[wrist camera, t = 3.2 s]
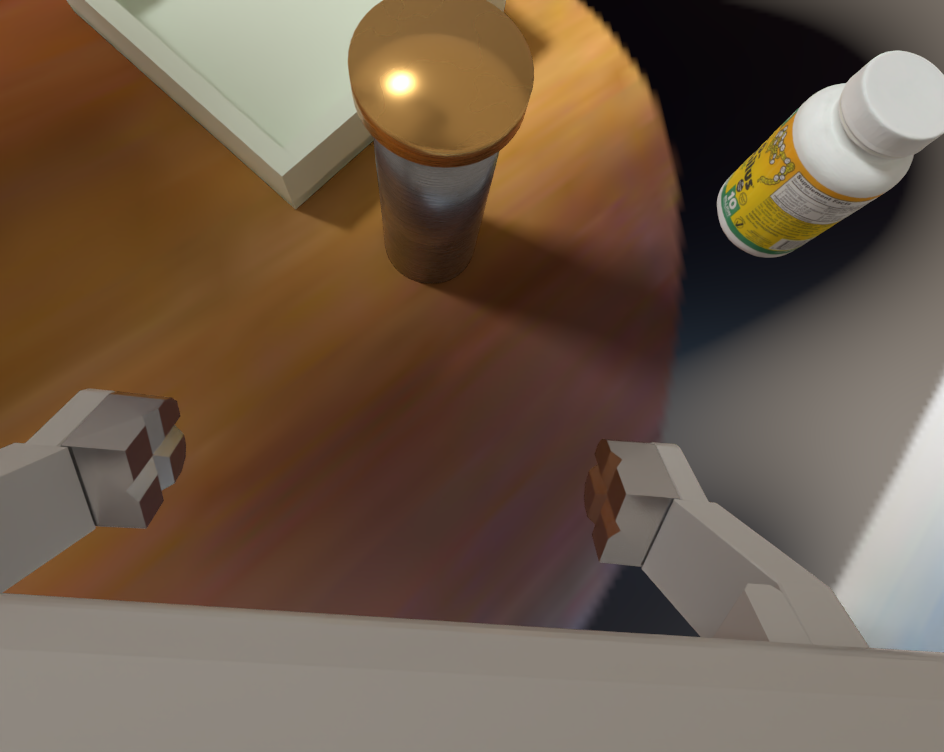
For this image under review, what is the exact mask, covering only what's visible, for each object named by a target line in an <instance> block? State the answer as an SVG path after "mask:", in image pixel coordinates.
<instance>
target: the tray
mask: <svg viewBox="0 0 944 752" xmlns="http://www.w3.org/2000/svg"><path fill="white" fill-rule="evenodd" d="M381 1H382V0H67V2H68V3H69V5H70V6H71V7H72V9H73V10H74V11H75V12H76V13H77V14H78V15H79V16H80V17H81V18H82V19H83V20H85V21H86V22H87V23H88V24H89V25H90V26H91V27H92V28H94V29H95V30H96V31H97V32H98V33H99V34H100V35H101V36H102V37H104V38H105V39H106V40H107V41H108V42H109V43H110V44H111V45H112V46H114V47H115V48H116V49H117V50H118V51H119V52H120V53H121V54H123V55H124V56H125V57H126V58H127V59H128V60H129V61H130V62H131V63H133V64H134V65H135V66H136V67H137V68H138V69H139V70H140V71H142V72H143V73H144V74H145V75H146V76H147V77H148V78H149V79H150V80H152V81H153V82H154V83H155V84H156V85H157V86H158V87H159V88H160V89H162V90H163V91H164V92H165V93H166V94H167V95H168V96H169V97H171V98H172V99H173V100H174V101H175V102H176V103H177V104H178V105H179V106H181V107H182V108H183V109H184V110H185V111H186V112H187V113H188V114H189V115H191V116H192V117H193V118H194V119H195V120H196V121H197V122H198V123H200V124H201V125H202V126H203V127H204V128H205V129H206V130H207V131H208V132H210V133H211V134H212V135H213V136H214V137H215V138H216V139H217V140H219V141H220V142H221V143H222V144H223V145H224V146H225V147H226V148H227V149H229V150H230V151H231V152H232V153H233V154H234V155H235V156H236V157H237V158H239V159H240V160H241V161H242V162H243V163H244V164H245V165H246V166H248V167H249V168H250V169H251V170H252V171H253V172H254V173H255V174H256V175H258V176H259V177H260V178H261V179H262V180H263V181H264V182H265V183H267V184H268V185H269V186H270V187H271V188H272V189H273V190H274V191H275V192H277V193H278V194H279V195H280V196H281V197H282V198H283V199H284V200H285V201H287V202H288V203H289V204H290V205H291V206H292V207H293V208H294V209H297V208H298V207H299V206H300V205H301V204H303V203H304V202H305V201H306V200H307V199H308V198H309V197H310V196H312V195H313V194H314V193H315V192H316V191H317V190H318V189H319V188H321V187H322V186H323V185H324V184H325V183H326V182H327V181H328V180H330V179H331V178H332V177H333V176H334V175H335V174H336V173H337V172H339V171H340V170H341V169H342V168H343V167H344V166H345V165H346V164H348V163H349V162H350V161H351V160H352V159H353V158H354V157H355V156H357V155H358V154H359V153H360V152H361V151H362V150H363V149H364V148H366V147H367V146H368V145H369V144H370V143H371V142H372V141H374V140H373V136H372V135H371V134H370V133H369V131H368V130H367V129H366V128H365V126H364V125H363V123H362V121H361V119H360V118H359V116H358V113H357V111H356V108H355V105H354V101H353V97H352V91H351V84H350V78H349V70H348V50H349V46H350V41H351V39H352V36H353V34H354V31H355V29H356V28H357V26H358V24H359V22H360V21H361V20H362V19H363V17H364V16H365V15H366V14H367V13H368V12H369V11H370V10H371V9H372V8H373V7H374V6H375V5H377V4H378V3H380V2H381ZM486 1H488V2H490V3H492V4H493V5H495V6H496V7H497V8H499V9H500V10H501V11H503V12H504V8H505V3H506V0H486Z"/></svg>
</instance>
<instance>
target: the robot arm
mask: <svg viewBox="0 0 944 752" xmlns="http://www.w3.org/2000/svg"><path fill="white" fill-rule="evenodd" d="M179 417H180V412H179V408H178V404H177V401H176V400H174V399H173V398H171V397H164V396H155V395H146V394H138V393H129V392H120V391H116V392H115V391H109V390H100V389H90V388H88V389H84V390H80V391H79V392H78V393H77V394H76V395H75V396H74V397H73V398H72V399H71V400H70V401H69V402H68V403H67V404H65V405H64V406H63V407H62V408H61V409H60V410H59V411H58V412H57V413H56V414H55V415H54V416H53V417H52V418H51V419H50V420H49V421H48V422H47V423H46V424H45V425H44V426H43V427H42V428H41V429H39V430H38V431H37V432H36V433H35V434H34V435H33V436H32V437H31V438H30V439H29V440H28V441H27V442H26V443H13V444H11V445H8V446H6V447H3V448H1V449H0V752H944V653H943V652H927V651H911V650H895V649H879V648H869V646H868V645H867V643H866V641H865V640H864V638H863V637H862V635H861V634H860V632H859V631H858V629H857V628H856V626H855V625H854V623H853V622H852V620H851V618H850V617H849V615H848V614H847V612H846V611H845V609H844V608H843V606H842V605H841V603H840V602H839V600H838V599H837V597H836V596H835V594H834V592H833V591H832V589H831V588H830V587H829V586H827V585H826V584H824V583H823V582H822V581H821V580H819V579H818V578H816V577H815V576H814V575H812V574H811V573H810V572H808V571H807V570H806V569H804V568H803V567H802V566H800V565H799V564H798V563H796V562H795V561H794V560H792V559H791V558H790V557H788V556H787V555H786V554H784V553H783V552H782V551H780V550H779V549H777V548H776V547H775V546H773V545H772V544H771V543H769V542H768V541H767V540H765V539H764V538H763V537H761V536H760V535H758V534H757V533H756V532H755V531H753V530H752V529H751V528H749V527H748V526H747V525H745V524H744V523H742V522H741V521H740V520H739V519H737V518H736V517H734V516H733V515H732V514H730V513H729V512H728V511H726V510H725V509H724V508H722V507H721V506H720V505H718V504H717V503H711V502H708V500H707V498H706V496H705V494H704V492H703V490H702V488H701V486H700V484H699V483H698V481H697V479H696V477H695V475H694V473H693V471H692V469H691V467H690V466H689V464H688V462H687V460H686V458H685V456H684V454H683V453H682V450H681V449H680V447H679V446H677V445H676V444H669V443H654V442H651V443H645V442H634V441H622V440H611V439H601V441H600V442H599V444H598V446H597V449H596V451H595V457H596V460H597V465H596V466H595V467H593V468H592V469H591V470H589V472H588V476H587V479H586V482H585V491H584V502H585V509H586V513H587V517H588V518H589V519H590V520H591V521H592V522H593V523H594V524H595V527H594V530H593V533H592V537H593V541H594V544H595V548H596V552H597V556H598V559H599V562H601V563H611V564H621V565H631V566H642V570H643V571H644V572H645V573H646V574H647V575H648V577H649V578H650V579H651V580H652V581H653V582H654V584H655V585H656V586H657V587H658V588H659V589H660V590H661V592H662V593H663V594H664V595H665V596H666V597H667V599H668V600H669V601H670V602H671V603H672V604H673V605H674V607H675V608H676V609H677V610H678V611H679V612H680V614H682V616H683V617H684V618H685V619H686V620H687V622H688V623H689V624H690V625H691V626H692V627H693V629H695V631H696V632H697V633H698V634H699V635H700V637H689V636H672V635H657V634H640V633H625V632H609V631H593V630H577V629H561V628H546V627H530V626H514V625H499V624H483V623H467V622H452V621H436V620H420V619H404V618H388V617H372V616H357V615H341V614H325V613H309V612H293V611H277V610H261V609H245V608H229V607H213V606H197V605H182V604H166V603H150V602H134V601H118V600H102V599H86V598H70V597H55V596H39V595H23V594H7V593H2V592H4V591H5V590H7V589H8V588H10V587H11V586H13V585H14V584H16V583H17V582H18V581H20V580H21V579H23V578H24V577H26V576H27V575H29V574H30V573H32V572H33V571H35V570H36V569H37V568H39V567H40V566H42V565H43V564H45V563H46V562H48V561H49V560H51V559H52V558H53V557H55V556H56V555H58V554H59V553H61V552H62V551H64V550H65V549H67V548H68V547H69V546H71V545H72V544H74V543H75V542H77V541H78V540H80V539H81V538H83V537H84V536H86V535H87V534H88V533H90V532H91V531H93V530H94V529H95V526H104V527H124V528H145V529H146V528H147V527H148V525H149V523H150V522H151V520H152V519H153V517H154V515H155V514H156V512H157V511H158V509H159V507H160V506H161V504H162V503H163V501H164V500H163V496H162V490H163V489H165V488H167V487H169V486H170V485H172V484H174V483H175V482H176V480H177V478H178V476H179V475H180V473H181V471H182V468H183V464H184V461H185V457H186V443H185V437H184V434H183V433H182V432H181V431H180V430H179V429H178V428H177V427H176V426H175V425H174V424H175V423H176V422H177V420H178V419H179Z"/></svg>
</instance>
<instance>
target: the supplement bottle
mask: <svg viewBox="0 0 944 752" xmlns="http://www.w3.org/2000/svg"><path fill="white" fill-rule="evenodd" d="M943 133H944V75H943V74H942V73H941V72H940V70H939V69H938V68H937V67H936V66H934V65H933V64H932V63H930V62H929V61H928V60H926V59H924V58H923V57H920V56H918V55H916V54H912V53H910V52H904V51H890V52H886V53H882V54H880V55H878V56H877V57H875V58H874V59H872V60H871V61H870V62H869V63H867V64H866V65H865V66H864V67H863V68H862V69H861V70H860V71H859V72H857V73H856V74H855V75H853V76H852V77H851V78H850V79H849V81H848V82H847V83H845V84H838V85H833V86H830V87H827V88H825V89H823V90H821V91H819V92H817V93H816V94H814V95H813V96H811V97H810V98H809V99H808V100H807V101H806V102H805V103H803V104H802V105H801V107H800V108H799V109H797V110H796V111H795V112H794V113H793V114H792V115H791V116H790V117H789V118H788V119H787V120H786V121H785V122H784V123H783V124H782V125H781V126H780V127H779V128H778V129H777V130H776V131H775V132H774V133H773V134H772V135H771V136H770V137H769V138H768V140H767V141H765V142H764V143H763V144H762V145H761V147H760V148H759V149H758V150H757V151H756V152H754V153H753V154H752V155H751V156H750V157H749V158H748V159H747V160H746V161H745V162H744V163H743V164H742V165H741V166H740V167H739V168H738V170H736V171H735V172H734V173H733V174H732V175H731V176H730V177H729V178H728V180H727V181H726V182H725V183H724V185H723V186H722V188H721V190H720V192H719V195H718V199H717V211H718V218H719V222H720V225H721V227H722V230H723V231H724V233H725V234H726V236H727V237H728V239H729V240H730V241H731V242H732V243H733V244H734V245H736V246H737V247H738V248H740V249H741V250H743V251H745V252H747V253H749V254H751V255H754V256H758V257H765V258H772V257H779V256H782V255H786V254H788V253H790V252H792V251H794V250H795V249H797V248H799V247H801V246H802V245H804V244H805V243H807V242H808V241H810V240H812V239H813V238H815V237H816V236H818V235H819V234H821V233H822V232H824V231H825V230H827V229H829V228H830V227H831V226H833V225H835V224H836V223H838V222H839V221H841V220H842V219H844V218H846V217H847V216H849V215H851V214H852V213H854V212H855V211H857V210H858V209H860V208H861V207H863V206H865V205H866V204H868V203H869V202H871V201H873V200H874V199H876V198H877V197H879V196H880V195H882V194H883V193H885V192H886V191H888V190H889V189H891V188H892V187H893V186H895V185H896V184H897V183H898V182H899V181H900V180H901V179H902V177H903V176H904V175H905V174H906V172H907V171H908V169H909V167H910V165H911V162H912V159H913V155H914V154H915V153H917V152H919V151H920V150H922V149H923V148H924V147H925V146H927V145H928V144H929V143H931V142H932V141H934V140H935V139H937V138H938V137H939V136H941V135H942V134H943Z"/></svg>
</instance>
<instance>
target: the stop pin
mask: <svg viewBox="0 0 944 752" xmlns="http://www.w3.org/2000/svg"><path fill="white" fill-rule="evenodd" d="M348 70H349V78H350V84H351V91H352V97H353V101H354V105H355V108H356V111H357V113H358V116H359V118H360V119H361V121H362V123H363V125H364V126H365V128H366V129H367V130H368V131H369V133H370V134H371V135H372V136H373V140H374V149H375V158H376V167H377V176H378V185H379V194H380V203H381V212H382V221H383V230H384V239H385V248H386V252H387V255H388V257H389V259H390V261H391V263H392V264H393V265H394V267H395V268H396V269H397V270H398V271H399V272H400V273H402V274H403V275H404V276H406V277H408V278H410V279H412V280H414V281H418V282H421V283H431V284H433V283H441V282H445V281H448V280H450V279H452V278H454V277H456V276H457V275H459V274H460V273H461V272H462V271H463V270H464V269H465V268H466V267H467V265H468V264H469V262H470V260H471V258H472V255H473V252H474V248H475V244H476V240H477V236H478V232H479V229H480V225H481V221H482V217H483V213H484V209H485V205H486V201H487V197H488V193H489V190H490V186H491V182H492V178H493V174H494V170H495V166H496V162H497V158H498V154H499V151H500V150H501V149H502V148H503V147H504V146H506V145H507V144H508V143H509V141H510V140H511V139H512V138H513V137H514V135H515V134H516V132H517V131H518V129H519V128H520V125H521V123H522V121H523V119H524V115H525V112H526V108H527V105H528V102H529V98H530V95H531V92H532V88H533V81H534V66H533V60H532V55H531V52H530V49H529V46H528V44H527V42H526V40H525V38H524V36H523V35H522V33H521V31H520V30H519V28H518V27H517V26H516V25H515V23H514V22H513V21H512V20H511V19H510V18H509V17H508V16H507V15H506V14H505V13H504V12H503V11H501V10H500V9H499V8H497V7H496V6H495V5H493V4H492V3H490V2H488V1H486V0H382V1H381V2H380V3H378V4H377V5H375V6H374V7H373V8H372V9H371V10H370V11H369V12H368V13H367V14H366V15H365V16H364V17H363V19H362V20H361V21H360V22H359V24H358V26H357V28H356V29H355V31H354V34H353V36H352V39H351V41H350V46H349V50H348Z"/></svg>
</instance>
